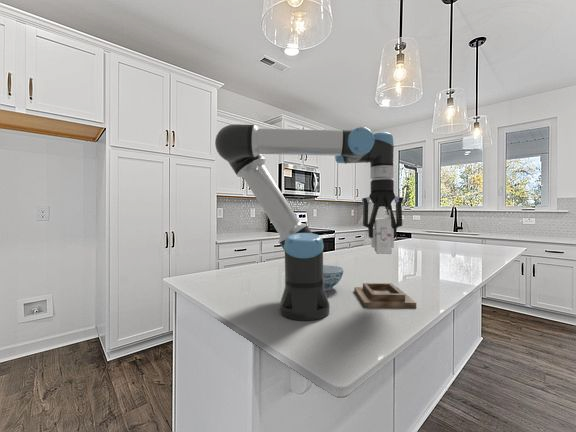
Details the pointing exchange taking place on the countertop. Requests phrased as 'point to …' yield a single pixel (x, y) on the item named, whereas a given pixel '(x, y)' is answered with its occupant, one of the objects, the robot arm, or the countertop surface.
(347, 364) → the countertop surface
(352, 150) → the robot arm
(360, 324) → the countertop surface
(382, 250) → the ink cartridge box
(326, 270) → the chinaware
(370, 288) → the walnut bay board
